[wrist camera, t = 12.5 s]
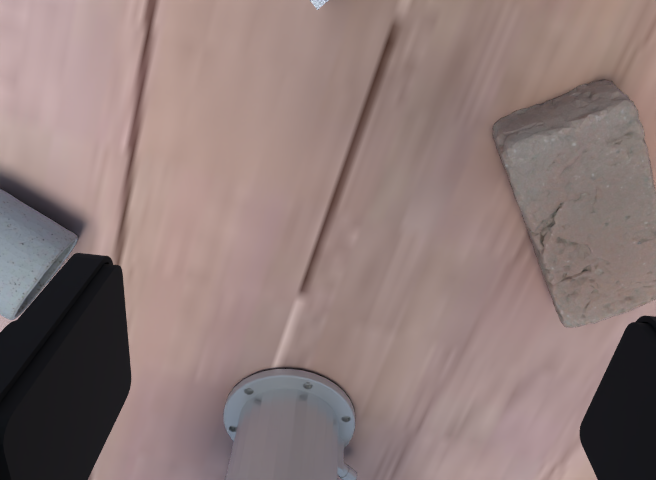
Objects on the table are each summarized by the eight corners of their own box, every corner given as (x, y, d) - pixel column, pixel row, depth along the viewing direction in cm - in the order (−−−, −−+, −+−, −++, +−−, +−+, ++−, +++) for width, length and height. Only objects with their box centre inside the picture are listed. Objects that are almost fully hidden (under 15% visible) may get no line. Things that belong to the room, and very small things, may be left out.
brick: (484, 124, 38) (499, 150, 34) (608, 70, 36) (641, 91, 32) (547, 297, 46) (566, 335, 42) (654, 261, 43) (684, 298, 39)
